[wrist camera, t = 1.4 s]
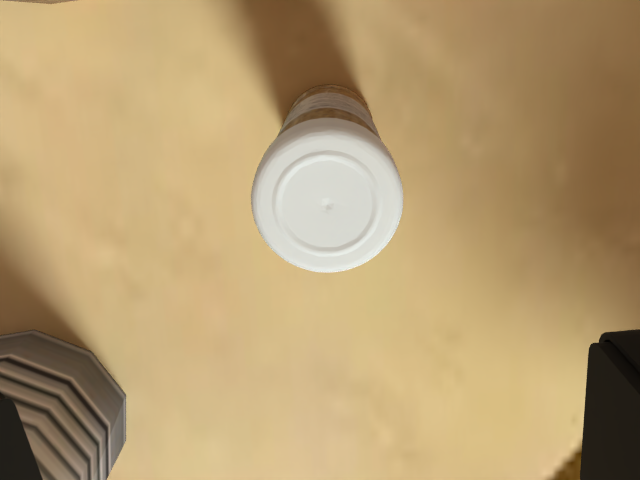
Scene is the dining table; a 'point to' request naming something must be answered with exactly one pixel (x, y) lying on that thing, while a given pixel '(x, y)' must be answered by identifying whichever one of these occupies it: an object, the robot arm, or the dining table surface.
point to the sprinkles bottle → (327, 184)
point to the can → (63, 405)
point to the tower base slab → (42, 1)
